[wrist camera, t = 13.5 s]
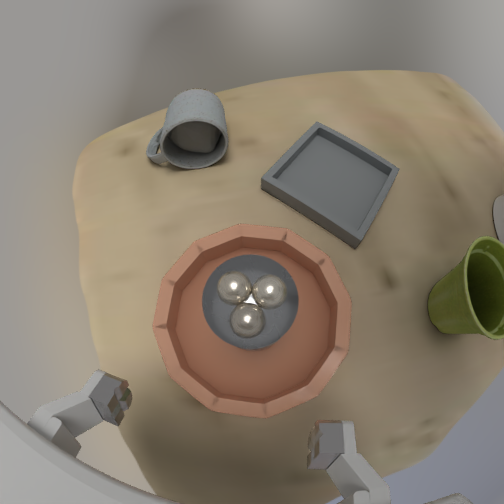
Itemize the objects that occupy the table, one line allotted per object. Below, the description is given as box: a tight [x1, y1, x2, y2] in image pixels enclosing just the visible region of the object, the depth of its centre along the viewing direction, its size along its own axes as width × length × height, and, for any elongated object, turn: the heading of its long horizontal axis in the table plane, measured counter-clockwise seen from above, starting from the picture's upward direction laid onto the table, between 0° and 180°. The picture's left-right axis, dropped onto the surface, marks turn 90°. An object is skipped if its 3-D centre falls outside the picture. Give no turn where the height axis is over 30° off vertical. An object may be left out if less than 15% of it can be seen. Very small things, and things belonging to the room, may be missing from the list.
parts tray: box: [261, 122, 399, 249], centre depth 29 cm, size 12×12×2 cm
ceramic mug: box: [146, 89, 228, 169], centre depth 29 cm, size 11×8×8 cm
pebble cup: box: [202, 254, 299, 351], centre depth 19 cm, size 5×5×10 cm
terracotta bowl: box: [153, 224, 352, 418], centre depth 23 cm, size 16×16×4 cm
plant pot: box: [428, 236, 504, 340], centre depth 20 cm, size 9×9×9 cm
